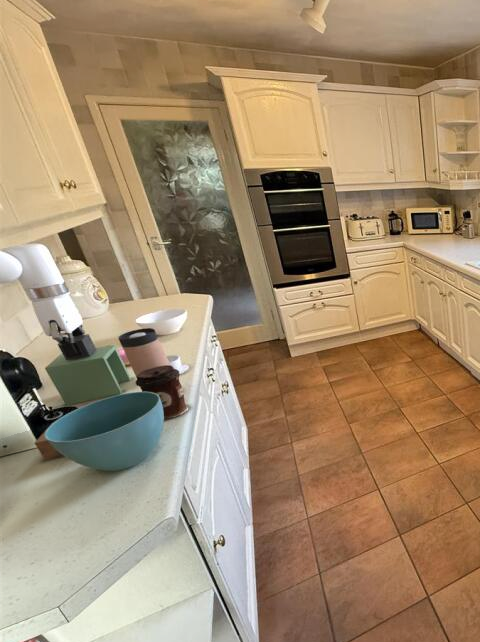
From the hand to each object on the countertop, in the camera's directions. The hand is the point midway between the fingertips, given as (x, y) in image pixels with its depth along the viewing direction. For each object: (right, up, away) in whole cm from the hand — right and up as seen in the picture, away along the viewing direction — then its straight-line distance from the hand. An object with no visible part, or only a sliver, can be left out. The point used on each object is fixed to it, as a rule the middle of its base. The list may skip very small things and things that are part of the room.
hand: (79, 351), depth 112 cm
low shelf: (+20, -21, -16) cm, 33 cm away
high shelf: (0, -12, +5) cm, 13 cm away
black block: (0, -1, 0) cm, 1 cm away
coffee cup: (+32, -17, -6) cm, 37 cm away
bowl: (-16, +6, +48) cm, 51 cm away
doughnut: (-8, -4, +24) cm, 26 cm away
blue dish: (+36, -24, -22) cm, 49 cm away
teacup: (+13, -8, +15) cm, 21 cm away
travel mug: (+23, -13, +2) cm, 26 cm away
